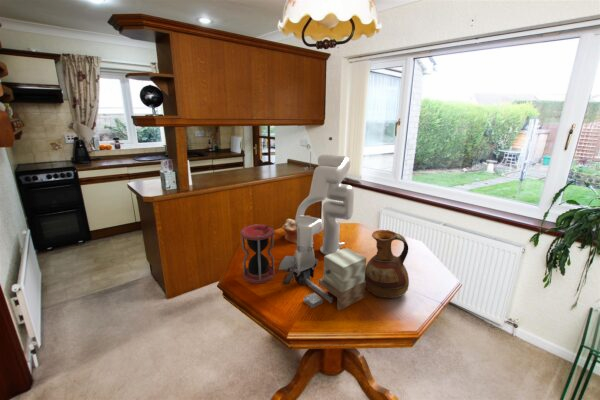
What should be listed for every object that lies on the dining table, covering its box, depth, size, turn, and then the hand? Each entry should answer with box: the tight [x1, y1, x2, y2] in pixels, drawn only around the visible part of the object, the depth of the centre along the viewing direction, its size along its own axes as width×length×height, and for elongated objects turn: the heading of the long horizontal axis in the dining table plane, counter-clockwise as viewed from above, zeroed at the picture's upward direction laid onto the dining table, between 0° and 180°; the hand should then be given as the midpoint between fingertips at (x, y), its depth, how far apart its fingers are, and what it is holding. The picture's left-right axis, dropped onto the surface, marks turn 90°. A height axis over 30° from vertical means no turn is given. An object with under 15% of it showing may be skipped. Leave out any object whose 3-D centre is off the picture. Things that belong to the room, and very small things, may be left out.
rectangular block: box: [303, 292, 324, 309], centre depth 128 cm, size 6×6×2 cm
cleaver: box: [278, 255, 295, 285], centre depth 155 cm, size 29×10×2 cm, turn 175°
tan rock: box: [282, 215, 312, 244], centre depth 192 cm, size 14×26×15 cm, turn 133°
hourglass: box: [240, 223, 276, 284], centre depth 146 cm, size 16×16×25 cm
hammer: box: [299, 269, 333, 304], centre depth 136 cm, size 4×22×7 cm, turn 37°
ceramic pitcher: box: [365, 229, 410, 299], centre depth 133 cm, size 20×20×30 cm
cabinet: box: [318, 247, 367, 311], centre depth 130 cm, size 16×14×20 cm
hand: (304, 279), depth 143 cm, fingers open, 8 cm apart
